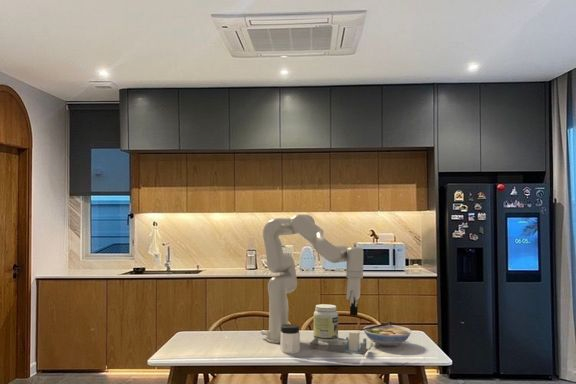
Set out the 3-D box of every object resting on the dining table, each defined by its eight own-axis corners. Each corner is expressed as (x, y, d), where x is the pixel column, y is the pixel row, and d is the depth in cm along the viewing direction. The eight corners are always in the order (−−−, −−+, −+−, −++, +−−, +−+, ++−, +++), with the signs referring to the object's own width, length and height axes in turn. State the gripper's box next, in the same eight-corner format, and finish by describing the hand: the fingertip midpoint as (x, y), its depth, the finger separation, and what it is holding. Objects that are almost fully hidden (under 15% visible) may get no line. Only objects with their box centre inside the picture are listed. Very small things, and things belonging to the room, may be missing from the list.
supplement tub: (337, 344, 241) (337, 308, 242) (311, 342, 243) (312, 307, 244) (338, 338, 253) (339, 304, 254) (315, 336, 255) (315, 303, 256)
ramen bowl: (389, 354, 223) (389, 336, 224) (351, 344, 241) (351, 327, 241) (422, 346, 239) (422, 328, 240) (385, 336, 257) (385, 320, 257)
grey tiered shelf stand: (310, 351, 227) (310, 339, 227) (315, 346, 237) (315, 334, 237) (363, 356, 220) (363, 343, 220) (366, 350, 230) (366, 338, 230)
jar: (277, 354, 222) (277, 326, 222) (283, 349, 229) (283, 323, 230) (296, 356, 219) (297, 328, 220) (301, 351, 227) (302, 324, 227)
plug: (349, 350, 225) (349, 332, 225) (350, 348, 229) (350, 330, 229) (357, 351, 224) (358, 333, 224) (359, 349, 228) (359, 331, 228)
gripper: (349, 272, 236) (348, 311, 235) (343, 275, 222) (342, 317, 221) (365, 273, 234) (364, 312, 233) (360, 276, 220) (359, 319, 219)
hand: (353, 315), depth 227 cm, fingers closed
